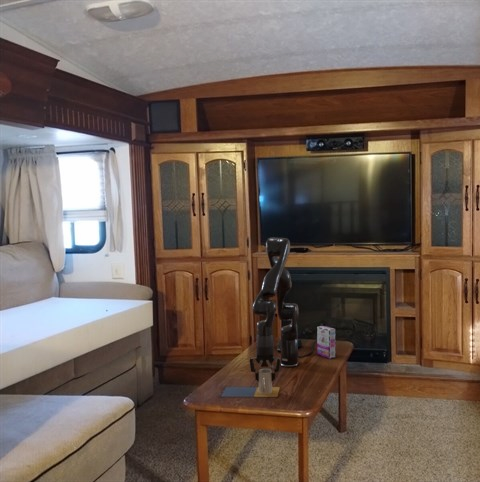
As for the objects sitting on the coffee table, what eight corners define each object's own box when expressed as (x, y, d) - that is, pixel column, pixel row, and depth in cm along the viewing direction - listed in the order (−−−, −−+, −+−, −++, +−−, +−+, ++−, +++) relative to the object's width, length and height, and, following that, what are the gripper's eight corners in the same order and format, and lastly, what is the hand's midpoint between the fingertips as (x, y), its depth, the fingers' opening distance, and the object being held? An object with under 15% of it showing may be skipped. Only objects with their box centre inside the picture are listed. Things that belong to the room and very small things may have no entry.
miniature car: (303, 346, 270) (302, 333, 269) (289, 354, 253) (289, 340, 253) (290, 344, 273) (290, 331, 273) (275, 352, 257) (275, 339, 256)
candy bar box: (336, 357, 247) (336, 328, 247) (329, 359, 244) (329, 330, 243) (323, 352, 256) (323, 325, 255) (316, 354, 253) (316, 326, 252)
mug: (259, 389, 200) (259, 368, 200) (272, 389, 200) (272, 368, 200) (256, 396, 191) (256, 375, 191) (270, 397, 191) (270, 375, 191)
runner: (226, 387, 203) (226, 387, 203) (279, 387, 203) (279, 387, 203) (220, 397, 192) (220, 396, 192) (277, 397, 192) (277, 396, 192)
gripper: (281, 341, 200) (281, 377, 201) (250, 341, 200) (250, 377, 201) (280, 346, 193) (280, 383, 193) (247, 346, 193) (248, 383, 193)
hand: (265, 380), depth 197 cm, fingers closed on mug, 6 cm apart
